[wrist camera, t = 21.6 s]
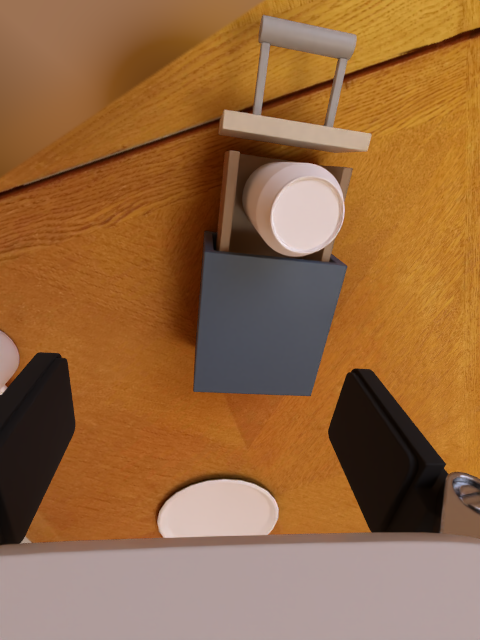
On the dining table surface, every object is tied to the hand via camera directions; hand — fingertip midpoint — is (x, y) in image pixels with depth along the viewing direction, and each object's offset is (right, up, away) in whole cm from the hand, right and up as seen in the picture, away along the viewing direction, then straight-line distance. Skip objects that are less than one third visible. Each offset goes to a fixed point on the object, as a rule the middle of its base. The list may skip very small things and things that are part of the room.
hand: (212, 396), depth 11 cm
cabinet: (+2, +5, +27) cm, 28 cm away
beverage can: (+4, +15, +21) cm, 26 cm away
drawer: (+4, +17, +20) cm, 27 cm away
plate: (-3, -31, +45) cm, 55 cm away
